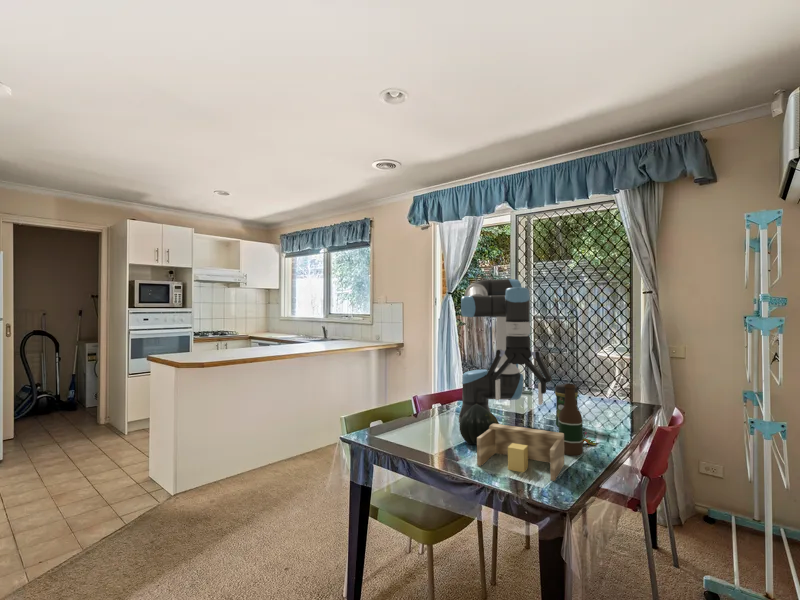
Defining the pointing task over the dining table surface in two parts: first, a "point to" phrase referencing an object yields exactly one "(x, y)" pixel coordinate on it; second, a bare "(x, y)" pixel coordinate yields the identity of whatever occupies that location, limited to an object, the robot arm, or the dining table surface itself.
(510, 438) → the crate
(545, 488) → the dining table surface
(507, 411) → the dining table surface
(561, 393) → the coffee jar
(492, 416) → the squash
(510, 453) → the block
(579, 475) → the dining table surface
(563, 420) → the beer bottle
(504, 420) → the dining table surface
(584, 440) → the lily flower
